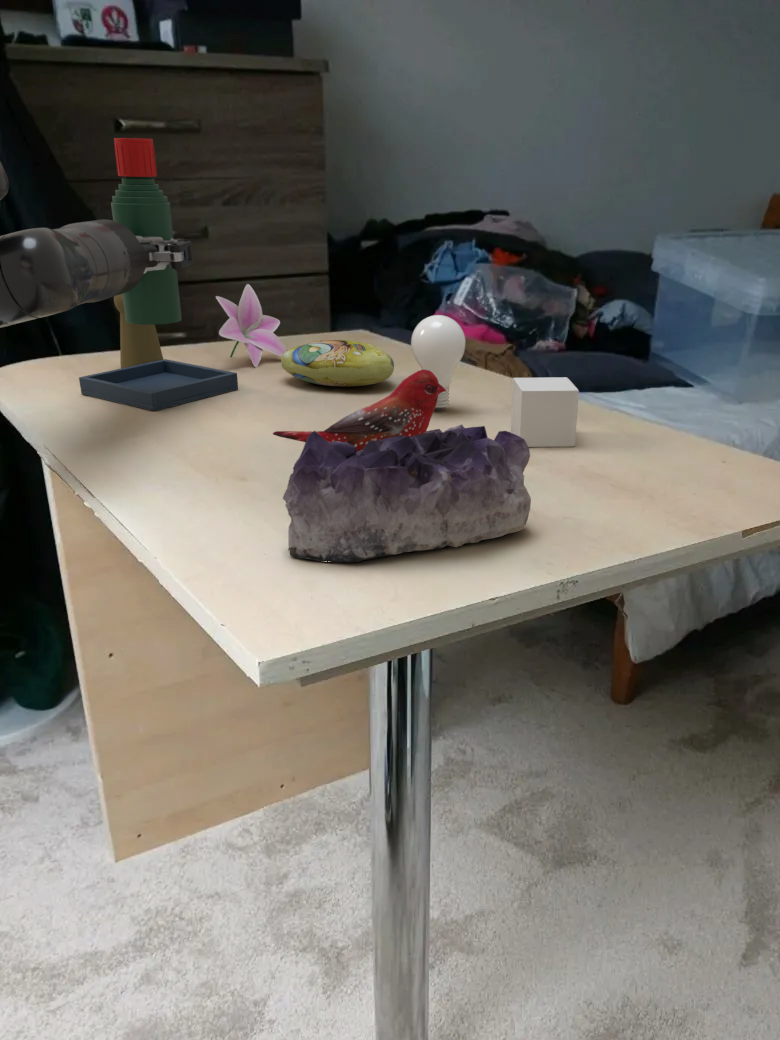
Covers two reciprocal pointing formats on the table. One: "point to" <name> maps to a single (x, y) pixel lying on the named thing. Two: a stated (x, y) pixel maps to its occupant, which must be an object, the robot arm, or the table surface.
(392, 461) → the geode
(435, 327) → the lightbulb
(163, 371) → the tray
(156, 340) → the cork
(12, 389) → the table surface
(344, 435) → the decorative bird figurine
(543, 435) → the white cube
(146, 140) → the cap
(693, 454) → the table surface
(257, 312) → the lily
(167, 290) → the bottle
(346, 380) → the painted stone
